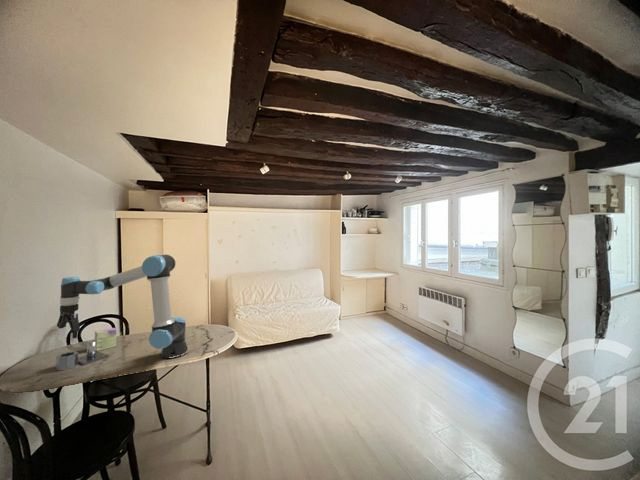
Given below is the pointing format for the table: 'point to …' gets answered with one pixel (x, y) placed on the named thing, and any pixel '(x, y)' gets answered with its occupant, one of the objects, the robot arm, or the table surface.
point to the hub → (66, 360)
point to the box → (105, 338)
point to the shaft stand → (91, 354)
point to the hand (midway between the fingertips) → (67, 341)
